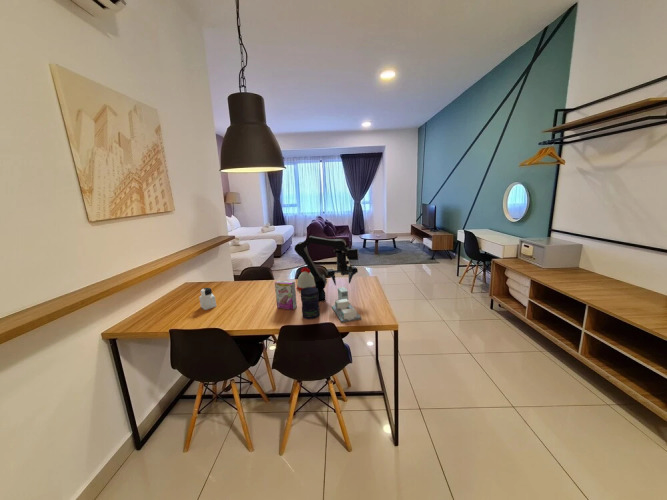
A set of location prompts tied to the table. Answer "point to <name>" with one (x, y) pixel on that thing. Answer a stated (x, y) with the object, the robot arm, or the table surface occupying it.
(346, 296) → the block
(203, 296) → the medicine bottle
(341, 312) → the board
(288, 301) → the candy bar box
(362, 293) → the table surface
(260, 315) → the table surface
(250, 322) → the table surface
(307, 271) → the kitchen timer
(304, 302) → the storage jar
